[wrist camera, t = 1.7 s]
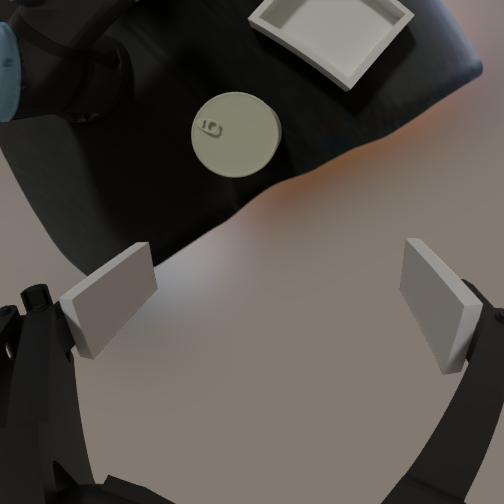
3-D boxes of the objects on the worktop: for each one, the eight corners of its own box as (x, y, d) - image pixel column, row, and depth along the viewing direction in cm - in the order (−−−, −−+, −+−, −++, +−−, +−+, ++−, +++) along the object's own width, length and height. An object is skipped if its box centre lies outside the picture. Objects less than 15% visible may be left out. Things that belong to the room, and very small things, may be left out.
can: (228, 91, 38) (205, 80, 27) (291, 113, 39) (292, 108, 28) (206, 151, 42) (178, 162, 31) (267, 173, 42) (259, 191, 32)
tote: (251, 26, 34) (247, 18, 31) (316, -41, 28) (317, -52, 24) (345, 91, 36) (350, 89, 33) (405, 21, 30) (414, 15, 27)
